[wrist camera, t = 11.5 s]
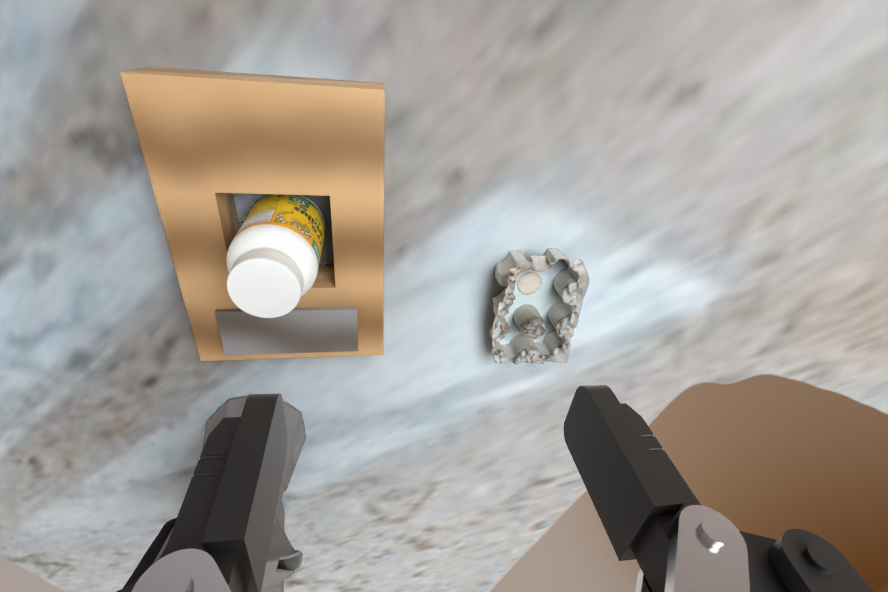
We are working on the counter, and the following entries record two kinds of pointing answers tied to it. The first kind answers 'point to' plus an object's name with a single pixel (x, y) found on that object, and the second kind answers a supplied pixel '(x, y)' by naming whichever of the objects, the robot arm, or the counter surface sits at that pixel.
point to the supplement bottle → (275, 255)
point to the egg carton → (527, 317)
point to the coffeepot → (280, 549)
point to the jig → (267, 172)
